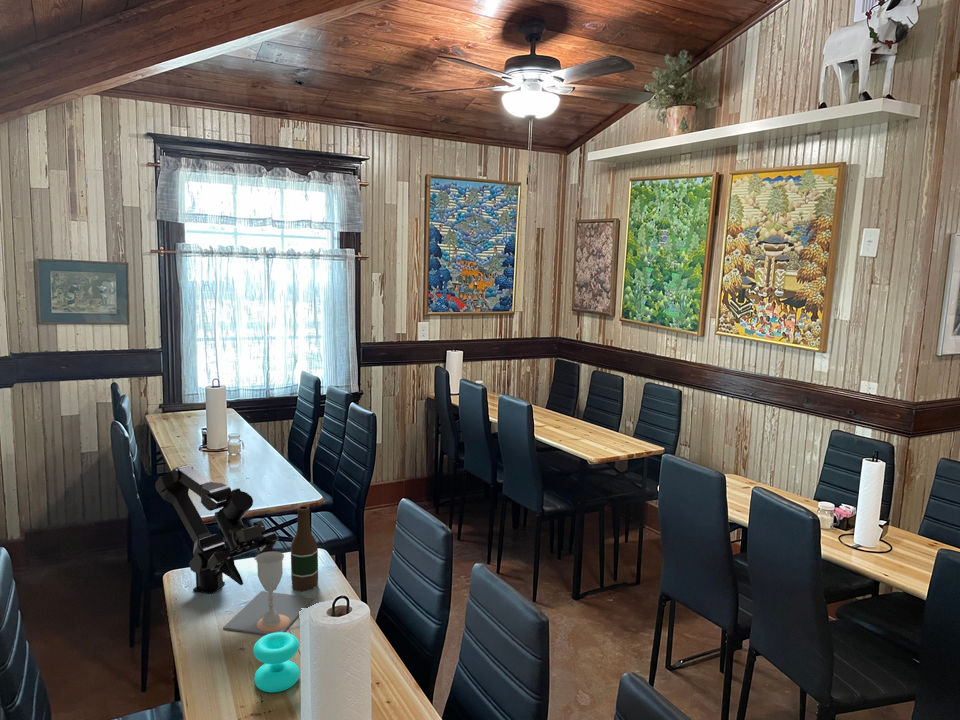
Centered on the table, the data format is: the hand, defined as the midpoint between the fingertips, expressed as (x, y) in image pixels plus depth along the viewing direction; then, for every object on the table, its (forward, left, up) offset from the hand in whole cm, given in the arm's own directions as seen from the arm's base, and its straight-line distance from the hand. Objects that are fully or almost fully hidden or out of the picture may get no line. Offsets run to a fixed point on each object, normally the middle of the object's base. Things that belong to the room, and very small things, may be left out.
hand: (257, 578), depth 188 cm
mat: (+2, +2, -11) cm, 11 cm away
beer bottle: (+4, +19, -11) cm, 22 cm away
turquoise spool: (+18, -25, -11) cm, 33 cm away
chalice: (+5, -2, -10) cm, 12 cm away
